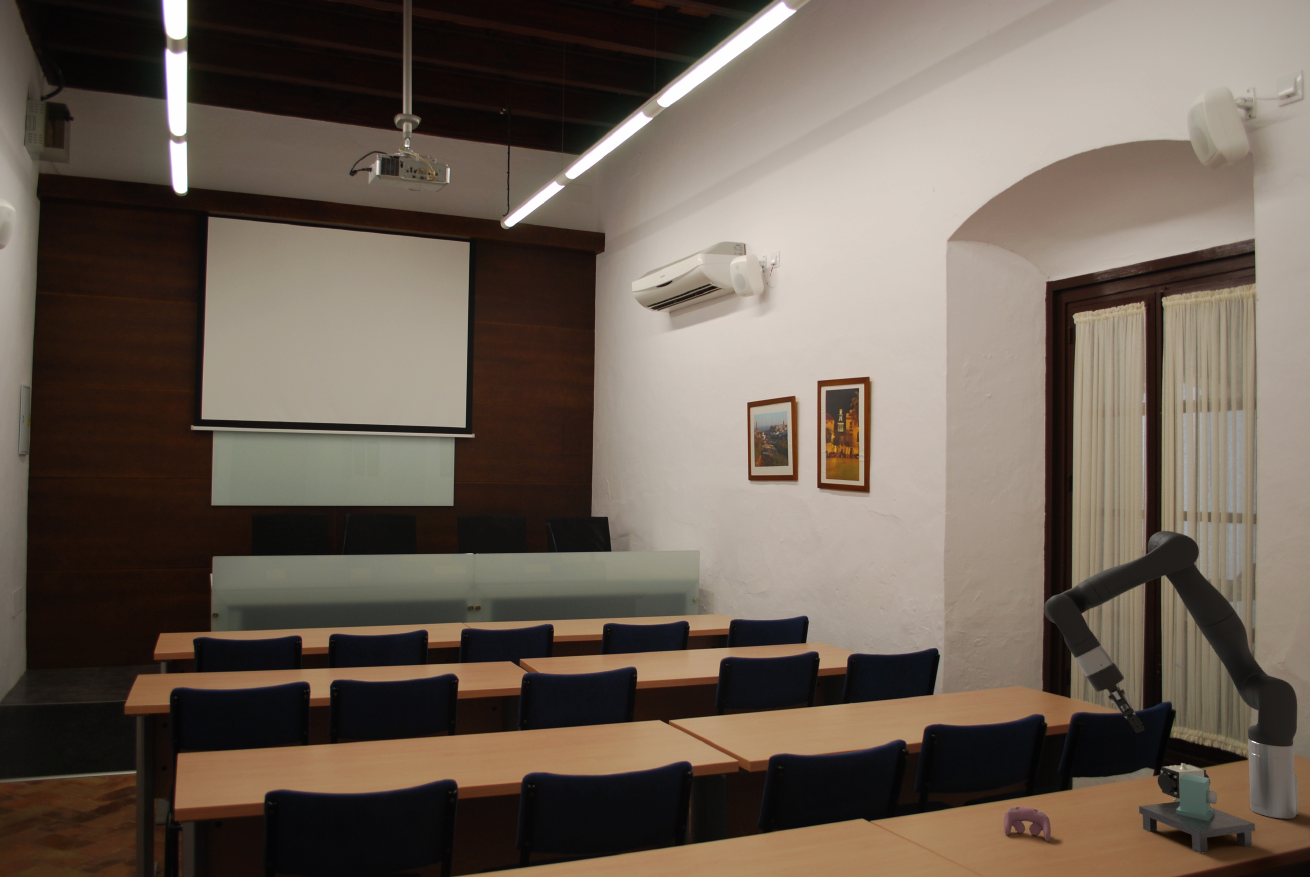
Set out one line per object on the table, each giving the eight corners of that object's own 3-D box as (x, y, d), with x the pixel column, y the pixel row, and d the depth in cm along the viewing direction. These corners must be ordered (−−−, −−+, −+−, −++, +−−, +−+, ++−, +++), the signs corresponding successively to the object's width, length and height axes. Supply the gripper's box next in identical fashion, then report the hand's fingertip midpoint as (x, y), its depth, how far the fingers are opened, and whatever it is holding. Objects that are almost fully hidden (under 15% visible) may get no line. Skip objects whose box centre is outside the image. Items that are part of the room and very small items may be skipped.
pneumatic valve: (1212, 814, 216) (1210, 764, 216) (1173, 819, 212) (1172, 768, 213) (1192, 807, 221) (1191, 758, 222) (1154, 811, 218) (1153, 761, 219)
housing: (1182, 807, 206) (1181, 772, 207) (1219, 814, 201) (1218, 779, 202) (1176, 814, 202) (1175, 778, 202) (1213, 822, 197) (1212, 785, 197)
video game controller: (1051, 844, 200) (1050, 811, 203) (1050, 841, 196) (1050, 808, 199) (1004, 837, 204) (1004, 805, 207) (1003, 834, 200) (1003, 801, 203)
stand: (1191, 821, 211) (1191, 799, 211) (1255, 846, 196) (1254, 823, 196) (1139, 828, 206) (1139, 806, 207) (1200, 854, 191) (1200, 830, 191)
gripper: (1113, 662, 213) (1156, 725, 207) (1112, 659, 225) (1152, 719, 219) (1085, 676, 215) (1126, 739, 209) (1085, 673, 227) (1124, 732, 221)
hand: (1140, 729), depth 214 cm, fingers open, 8 cm apart
